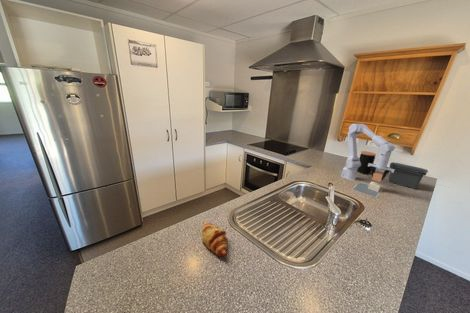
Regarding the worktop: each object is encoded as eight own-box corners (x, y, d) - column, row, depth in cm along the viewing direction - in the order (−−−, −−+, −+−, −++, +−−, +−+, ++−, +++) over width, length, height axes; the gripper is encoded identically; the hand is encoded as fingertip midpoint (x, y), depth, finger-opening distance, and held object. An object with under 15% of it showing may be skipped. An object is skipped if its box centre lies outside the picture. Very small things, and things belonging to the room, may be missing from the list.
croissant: (200, 234, 87) (191, 223, 83) (217, 220, 90) (210, 209, 86) (218, 268, 70) (209, 258, 66) (239, 250, 73) (231, 239, 69)
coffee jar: (369, 171, 166) (375, 152, 160) (370, 175, 157) (376, 155, 152) (356, 169, 171) (361, 150, 165) (356, 172, 163) (361, 153, 157)
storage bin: (383, 181, 147) (388, 164, 143) (387, 176, 157) (392, 160, 153) (419, 192, 132) (427, 173, 128) (421, 185, 143) (428, 168, 138)
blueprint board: (350, 190, 130) (352, 184, 129) (359, 182, 143) (360, 177, 141) (376, 199, 120) (378, 192, 118) (382, 190, 133) (384, 184, 131)
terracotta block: (371, 179, 130) (373, 173, 128) (373, 177, 133) (375, 171, 132) (380, 182, 127) (382, 175, 125) (382, 180, 130) (384, 173, 128)
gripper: (369, 158, 128) (363, 176, 132) (395, 164, 118) (389, 183, 122) (371, 156, 132) (366, 174, 137) (397, 162, 122) (391, 181, 127)
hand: (377, 178), depth 130 cm, fingers closed on terracotta block, 5 cm apart
